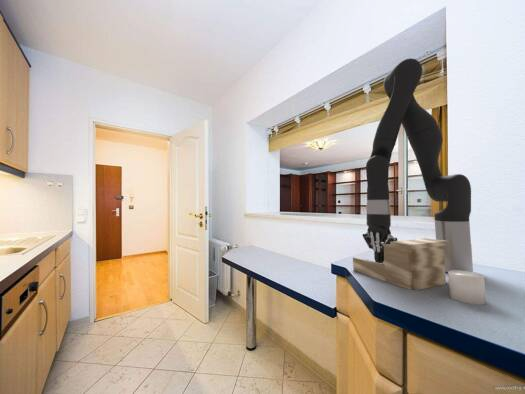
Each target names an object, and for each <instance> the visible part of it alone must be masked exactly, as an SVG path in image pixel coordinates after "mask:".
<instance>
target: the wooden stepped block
mask: <svg viewBox="0 0 525 394" xmlns="http://www.w3.org/2000/svg"><path fill="white" fill-rule="evenodd" d="M444 245H448V241H445V240H436V238H435V239H434V238H427V237H424V238H418V239H417V238H415V239H405V240H397V241H394V242H390V245H389V244H385V245H384V261H383V263H377V262H375V261H374V260H373V261H372V260H368V259H365V258H361V257H356V256H353V257H352V268H353V269H354V270H356V271H355V272H357V271H358V272H357V273H360V272H361V273H360V274H363V275H366V276H370V277H372V278H376V279H377V280H381V281H384V282H388V283H390V284H393V285H396V286H397V287H398V286H399V287H401V288H405V289H406V290H407V289H408V290H413V289H414V290H417V291H420V290H426V289H430V288H434V287H438V286H443V285H446V284H447V281H446V280H447V279H446V272H445V260H444ZM354 270H353V271H354Z"/></svg>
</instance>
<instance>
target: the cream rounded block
mask: <svg viewBox="0 0 525 394" xmlns="http://www.w3.org/2000/svg"><path fill="white" fill-rule="evenodd" d="M447 273H448V274H447V275H448V289H449V293H448V294H449V297H450V298H451V299H453V300H455V301H457V302H461V303H464V304H468V303H469V304H470V305H475V304H476V306H477V305H479V306H481V305H486V304H487V303H486V302H487V301H486V298H487V297H486V285H485V276H484V275H483V274H481V273H477V272H474V271H473V272H469V271H461V270H450V271H448V272H447Z"/></svg>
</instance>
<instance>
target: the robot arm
mask: <svg viewBox="0 0 525 394" xmlns="http://www.w3.org/2000/svg"><path fill="white" fill-rule="evenodd" d="M422 75H423V66H422V63H421V62H420V61H419V60H418V59H416V58H411V57H410V58H406V59H403V60H402V61H400V62H398V64H396V65H395V66H394V67H393V68H392V69H391V70H390V71H389V72H388V73H387V74H386V75H385V77H384V79H383V88H384V92H385V94H386V96H387V97H388V99H389V102H388V104H387V105H386V109H385V111H384V113H383V115H382V116H381V119H380V121H379V123H378V125H377V128H376V131H375V135H374V138H373V141H372V151H371V154H370V157H369V159H368V160H367V162H366V163H365V164H366V165H365V174H366V185H367V187H366V206H365V207H366V208H365V209H366V211H365V212H366V226H367V227H368V228H367V232H366V233H362V235H361V236H362V237H363V239H364V242H365V244H366V245H367V246H368V248H369V249H370V250H371V249H372V250H373V257H374V258H373V259H374V262H377V263H380V264H381V263H383V261H384V245H385V244H389V245H390V242H394V241H398V237H394V236H393V235H392V231H391V229H390V227H391V226H392V225H391V224H392V221H391V217H392V216H391V203H390V189H389V177H390V176H389V171H390V168H389V167H390V164H391V160H392V155H393V151H394V148H395V147H396V142H397V140H398V136H399V132H400V129H401V126H402V128H403V129H404V132H405V135H406V137H407V140H408V142H409V145H410V147H411V149H412V151H413V153H414V156H415V159H416V160H417V164H418V167H419V170H420V172H421V176H422V179H423V184H424V187H425V189H426V193H427V194H428V197H429V198H430V199H431V200H432V201H434V202H437V203H442V202H443V203H444V202H446V203H447V205H446V207H445V208H443V209H441V210H439V211H436V212H435V213H434V215H433V216H434V231H435V233H434V234H435V239H436V240H445V241H448V245H444V260H445V273H448V271H450V270H461V271H469V272H474V264H473V252H472V251H473V250H472V241H471V240H472V239H471V225H470V215H471V212H472V187H471V182H470V181H469V179H468V177H467V176H465V175H463V174H461V173H460V174H459V173H457V174H450V175H442V172H441V170H440V169H441V168H440V166H439V156H440V153H441V151H442V145H443V141H444V140H443V139H444V137H443V134H442V132H441V128H440V126H439V125H438V122H437V120H436V118H435V117H434V116H433V115H432V114H431V113H429V112H428V111H427V110H426V109H424V108H423V106H421V105H420V103H418V101H417V100H416V98H415V95H414V93H415V91H416V89H417V87H418V85H419V83H420V81H421V78H422Z"/></svg>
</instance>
